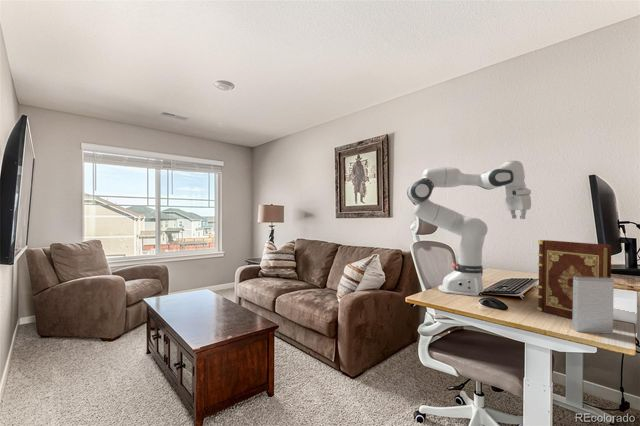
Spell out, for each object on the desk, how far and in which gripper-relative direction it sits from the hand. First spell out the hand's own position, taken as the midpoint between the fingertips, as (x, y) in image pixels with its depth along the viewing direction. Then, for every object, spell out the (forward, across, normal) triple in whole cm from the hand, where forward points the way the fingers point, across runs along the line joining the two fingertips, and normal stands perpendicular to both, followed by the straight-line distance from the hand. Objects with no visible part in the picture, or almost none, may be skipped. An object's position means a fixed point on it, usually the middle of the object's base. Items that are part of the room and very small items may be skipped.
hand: (518, 218), depth 155 cm
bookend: (+39, +49, -1) cm, 63 cm away
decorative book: (+39, +33, +2) cm, 51 cm away
